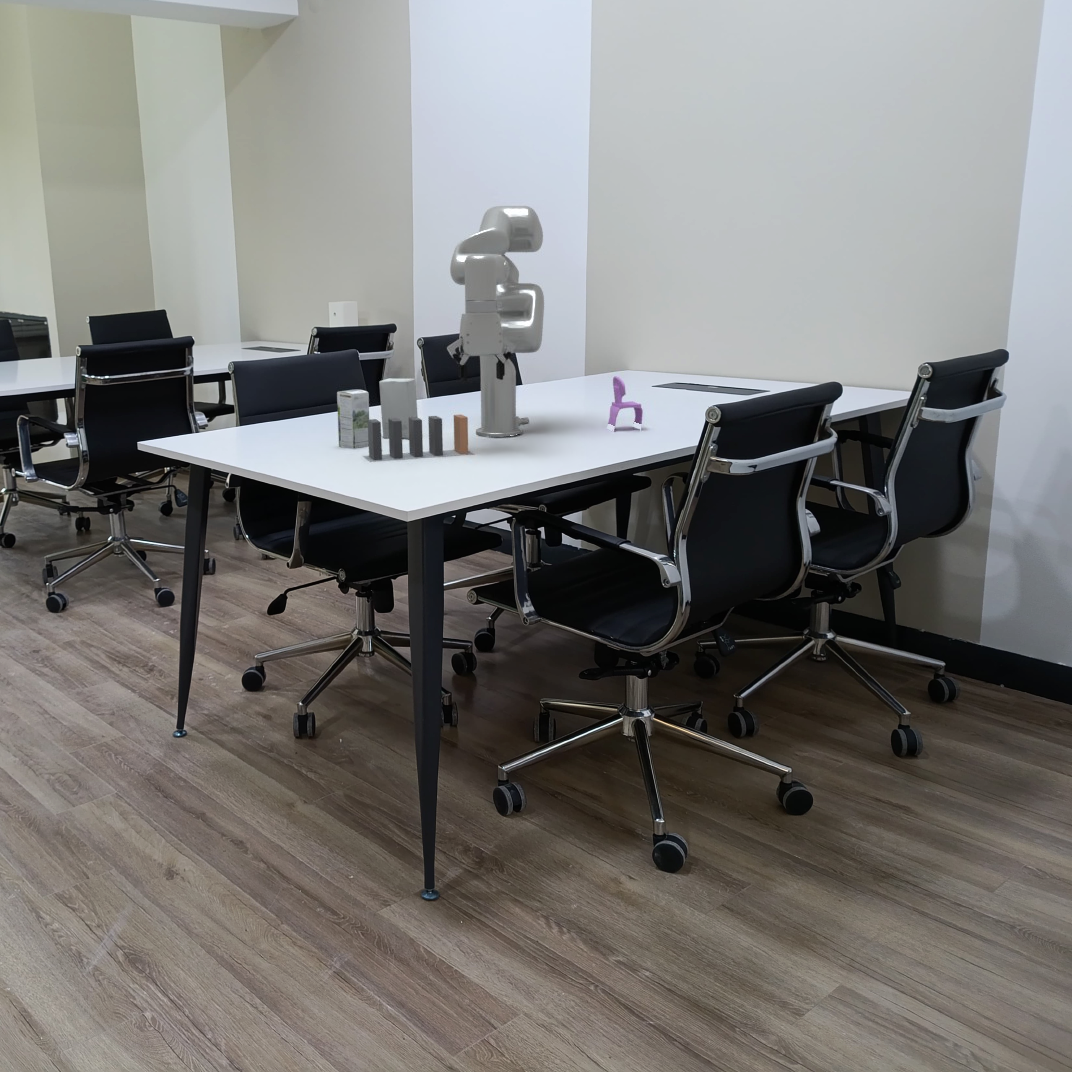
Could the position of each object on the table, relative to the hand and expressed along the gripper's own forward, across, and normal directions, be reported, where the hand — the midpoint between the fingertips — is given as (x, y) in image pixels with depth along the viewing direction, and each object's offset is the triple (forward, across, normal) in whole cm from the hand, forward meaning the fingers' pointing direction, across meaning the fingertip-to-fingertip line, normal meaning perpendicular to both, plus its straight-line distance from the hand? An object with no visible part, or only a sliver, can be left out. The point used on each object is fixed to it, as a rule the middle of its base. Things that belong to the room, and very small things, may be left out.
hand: (481, 379), depth 257 cm
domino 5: (+18, +6, 0) cm, 19 cm away
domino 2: (+17, +22, 0) cm, 28 cm away
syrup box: (+18, +29, -18) cm, 38 cm away
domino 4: (+18, +12, 0) cm, 21 cm away
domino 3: (+17, +17, 0) cm, 25 cm away
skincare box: (+18, +14, -30) cm, 38 cm away
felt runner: (+18, +16, 0) cm, 24 cm away
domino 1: (+17, +27, 0) cm, 32 cm away
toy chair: (+19, -49, -20) cm, 56 cm away
